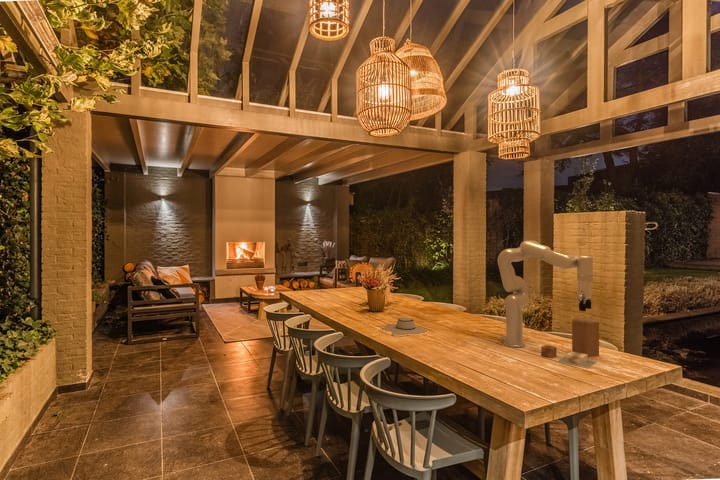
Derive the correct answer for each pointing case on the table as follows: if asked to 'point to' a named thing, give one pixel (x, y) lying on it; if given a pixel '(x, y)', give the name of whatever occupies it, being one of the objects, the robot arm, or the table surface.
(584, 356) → the birch base brick
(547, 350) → the walnut cube
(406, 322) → the sun hat
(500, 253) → the robot arm
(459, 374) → the table surface
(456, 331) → the table surface
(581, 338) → the wooden block
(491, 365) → the table surface
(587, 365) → the grey flat square
